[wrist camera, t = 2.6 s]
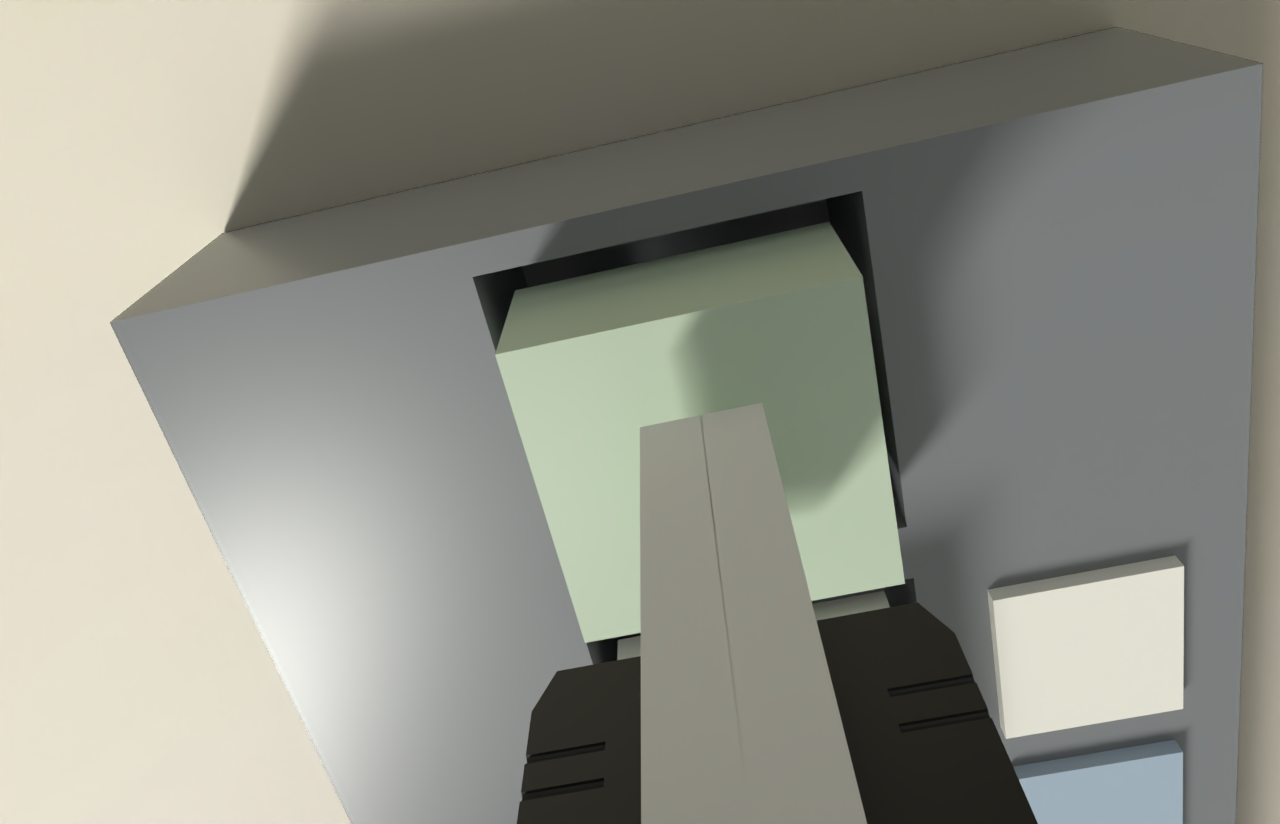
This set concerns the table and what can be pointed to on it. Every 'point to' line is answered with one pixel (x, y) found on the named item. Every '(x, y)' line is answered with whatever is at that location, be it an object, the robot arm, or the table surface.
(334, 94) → the table surface
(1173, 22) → the table surface
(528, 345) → the key sage
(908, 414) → the keypad
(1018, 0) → the table surface
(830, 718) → the robot arm
